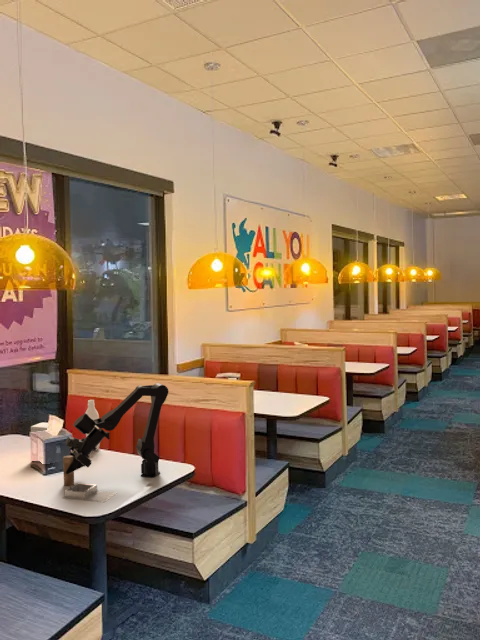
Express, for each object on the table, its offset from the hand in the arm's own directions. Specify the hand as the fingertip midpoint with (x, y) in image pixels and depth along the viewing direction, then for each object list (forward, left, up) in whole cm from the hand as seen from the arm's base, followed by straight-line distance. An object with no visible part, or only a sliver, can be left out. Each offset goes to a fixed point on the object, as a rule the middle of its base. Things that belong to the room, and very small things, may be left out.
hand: (65, 471), depth 227 cm
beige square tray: (-12, +8, -5) cm, 15 cm away
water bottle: (+19, -52, -7) cm, 56 cm away
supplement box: (+32, -32, -7) cm, 46 cm away
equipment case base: (-16, +8, -7) cm, 19 cm away
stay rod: (-1, -1, -7) cm, 7 cm away
